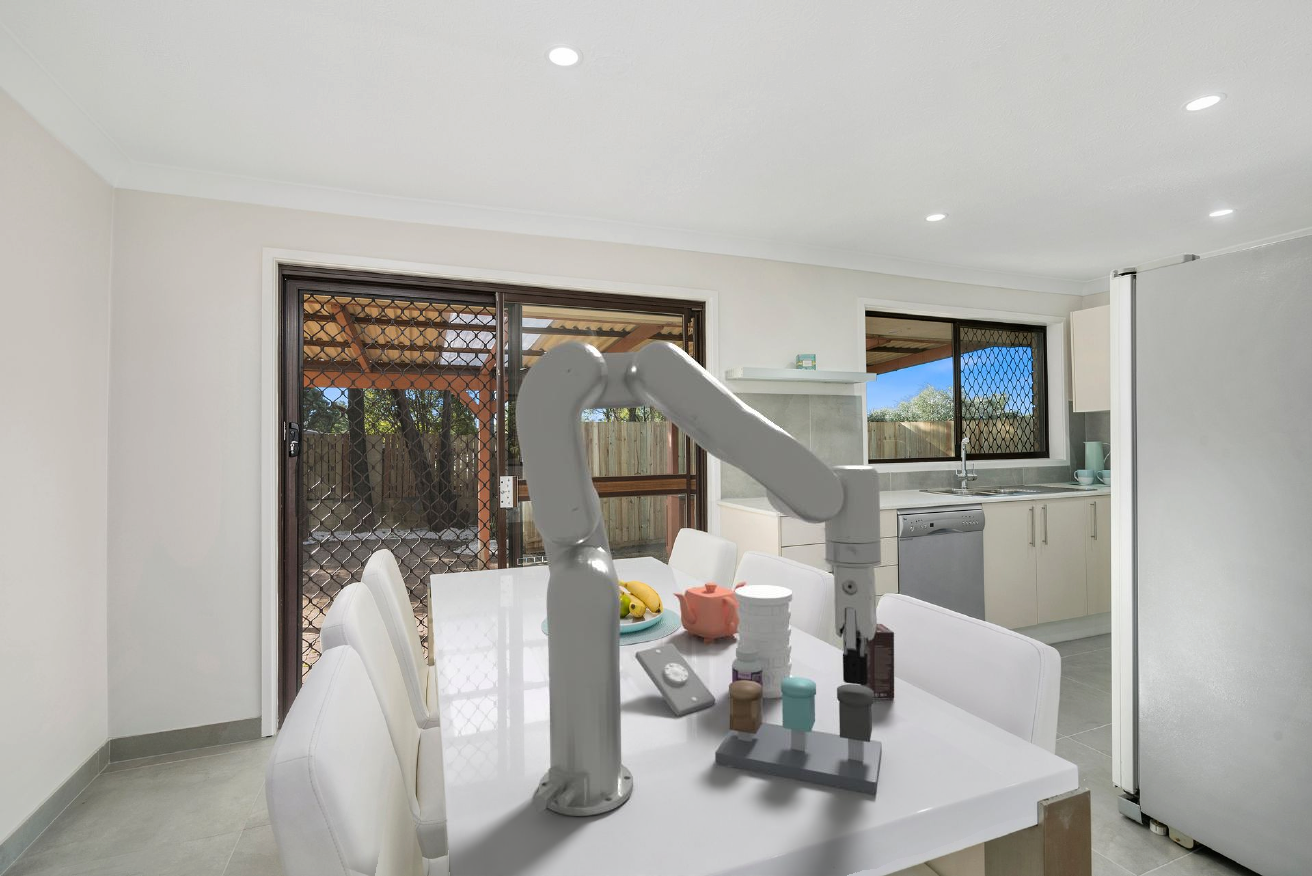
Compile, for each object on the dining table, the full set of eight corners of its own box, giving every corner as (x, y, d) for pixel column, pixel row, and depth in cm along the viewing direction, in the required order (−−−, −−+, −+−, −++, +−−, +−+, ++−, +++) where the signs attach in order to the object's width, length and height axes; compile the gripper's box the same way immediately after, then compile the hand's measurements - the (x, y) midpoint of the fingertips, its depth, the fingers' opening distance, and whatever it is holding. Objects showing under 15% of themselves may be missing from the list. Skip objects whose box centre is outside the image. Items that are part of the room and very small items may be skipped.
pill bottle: (738, 711, 108) (737, 655, 108) (728, 699, 113) (727, 645, 113) (767, 708, 109) (766, 652, 109) (756, 696, 114) (755, 643, 114)
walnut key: (758, 736, 92) (757, 695, 92) (725, 730, 94) (724, 690, 94) (766, 722, 96) (765, 682, 96) (734, 716, 98) (734, 678, 98)
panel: (876, 794, 82) (875, 745, 82) (715, 763, 90) (714, 719, 91) (881, 752, 93) (880, 709, 93) (737, 728, 102) (737, 688, 102)
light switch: (680, 708, 106) (637, 648, 116) (671, 733, 108) (629, 671, 118) (718, 695, 111) (673, 638, 121) (708, 719, 113) (664, 661, 123)
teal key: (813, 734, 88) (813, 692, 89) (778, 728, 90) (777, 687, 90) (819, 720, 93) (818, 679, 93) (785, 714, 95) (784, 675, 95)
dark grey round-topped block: (873, 744, 85) (872, 700, 85) (835, 738, 87) (834, 695, 87) (875, 728, 90) (875, 687, 90) (839, 723, 92) (839, 682, 92)
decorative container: (754, 702, 111) (752, 601, 112) (723, 680, 122) (722, 588, 122) (808, 692, 116) (806, 594, 116) (774, 671, 127) (772, 582, 127)
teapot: (673, 644, 145) (672, 589, 145) (688, 624, 161) (688, 575, 161) (737, 649, 141) (736, 593, 141) (747, 628, 156) (746, 577, 157)
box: (896, 699, 112) (895, 632, 112) (871, 700, 112) (870, 632, 112) (883, 686, 118) (881, 622, 118) (859, 687, 118) (858, 623, 118)
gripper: (877, 563, 81) (880, 706, 80) (883, 545, 94) (886, 667, 94) (817, 560, 83) (820, 698, 83) (832, 543, 97) (835, 661, 97)
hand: (855, 681), depth 89 cm, fingers closed
